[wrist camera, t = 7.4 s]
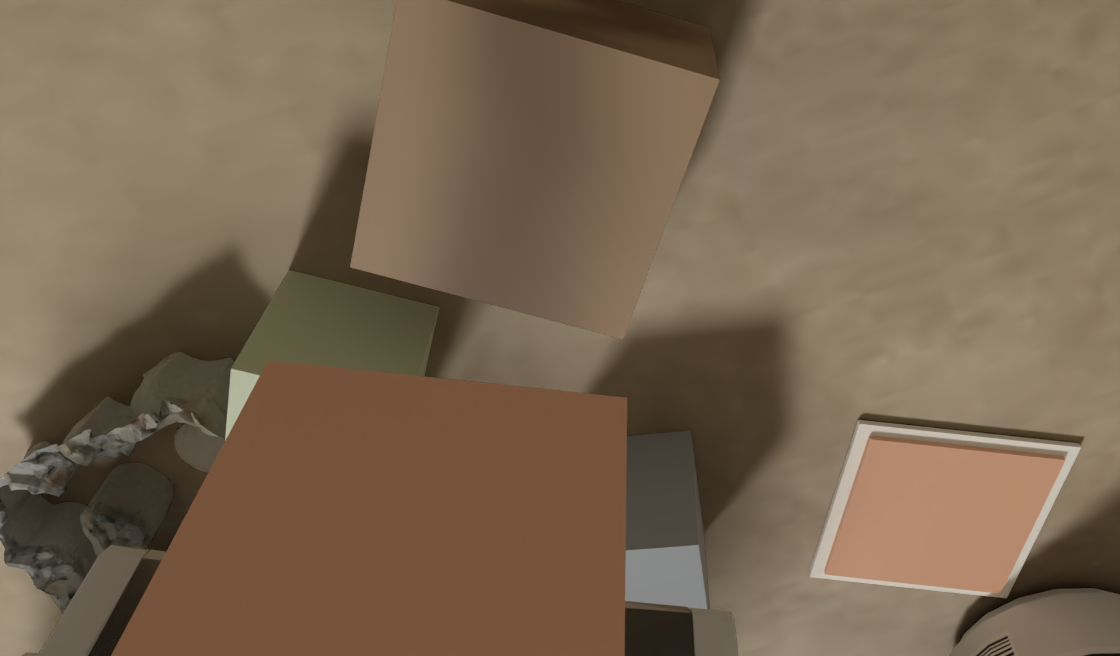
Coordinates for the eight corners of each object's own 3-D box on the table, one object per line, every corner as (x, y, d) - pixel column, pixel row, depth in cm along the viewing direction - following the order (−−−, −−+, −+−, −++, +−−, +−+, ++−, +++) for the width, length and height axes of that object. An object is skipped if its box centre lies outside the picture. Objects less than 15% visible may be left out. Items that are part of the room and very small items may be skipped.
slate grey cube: (690, 429, 31) (698, 544, 27) (703, 531, 34) (713, 652, 30) (550, 441, 32) (537, 556, 28) (573, 541, 34) (564, 661, 30)
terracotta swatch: (1078, 443, 30) (1083, 451, 30) (1005, 593, 34) (1008, 602, 34) (858, 419, 31) (860, 428, 30) (808, 572, 34) (810, 581, 34)
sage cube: (440, 306, 29) (407, 410, 25) (414, 419, 32) (381, 532, 28) (289, 268, 29) (230, 368, 25) (275, 386, 31) (220, 495, 27)
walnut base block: (708, 24, 24) (719, 79, 21) (624, 261, 28) (622, 339, 25) (432, -58, 24) (399, -14, 21) (384, 196, 28) (350, 267, 24)
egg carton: (215, 316, 30) (162, 397, 27) (367, 478, 34) (337, 568, 30) (-10, 449, 34) (-82, 536, 31) (147, 584, 37) (98, 675, 34)
